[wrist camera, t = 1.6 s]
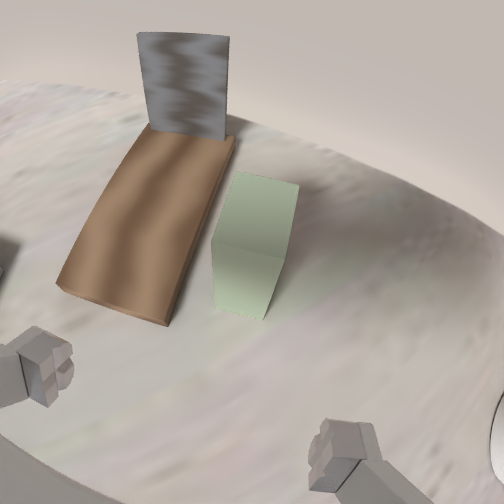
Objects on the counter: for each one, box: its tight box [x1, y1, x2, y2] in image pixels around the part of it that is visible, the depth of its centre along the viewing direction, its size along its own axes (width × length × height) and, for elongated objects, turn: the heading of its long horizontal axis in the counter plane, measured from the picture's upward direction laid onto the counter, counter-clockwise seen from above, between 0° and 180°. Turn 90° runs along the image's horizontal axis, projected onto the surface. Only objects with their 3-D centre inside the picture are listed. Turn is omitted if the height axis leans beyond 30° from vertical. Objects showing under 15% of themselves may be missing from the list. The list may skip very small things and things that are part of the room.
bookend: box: [56, 32, 235, 327], centre depth 27 cm, size 12×24×16 cm, turn 167°
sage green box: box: [211, 171, 300, 320], centre depth 26 cm, size 4×6×12 cm
